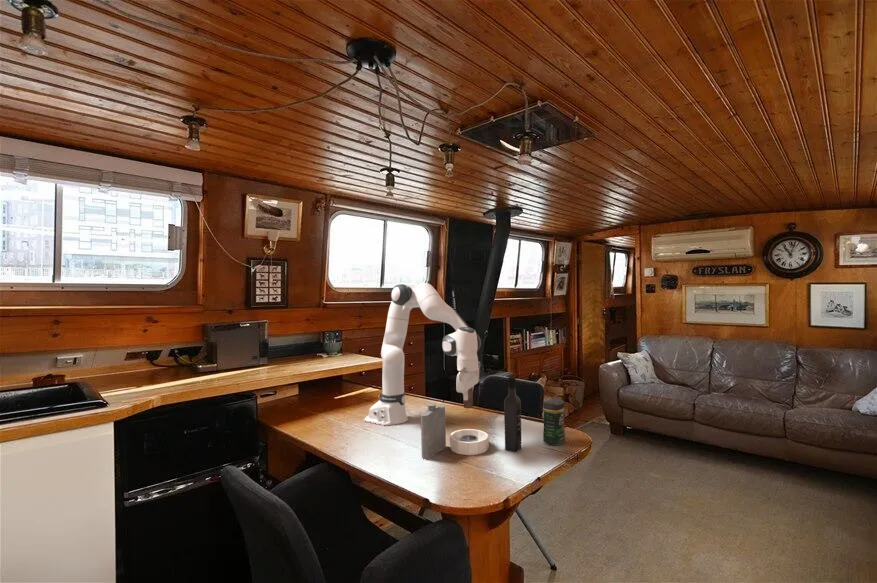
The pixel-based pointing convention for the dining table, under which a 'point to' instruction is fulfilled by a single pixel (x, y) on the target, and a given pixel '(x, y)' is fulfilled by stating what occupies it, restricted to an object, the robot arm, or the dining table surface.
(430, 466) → the dining table surface
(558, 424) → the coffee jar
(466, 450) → the white ring base
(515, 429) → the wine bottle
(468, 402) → the walnut peg
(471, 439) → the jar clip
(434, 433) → the hip flask
